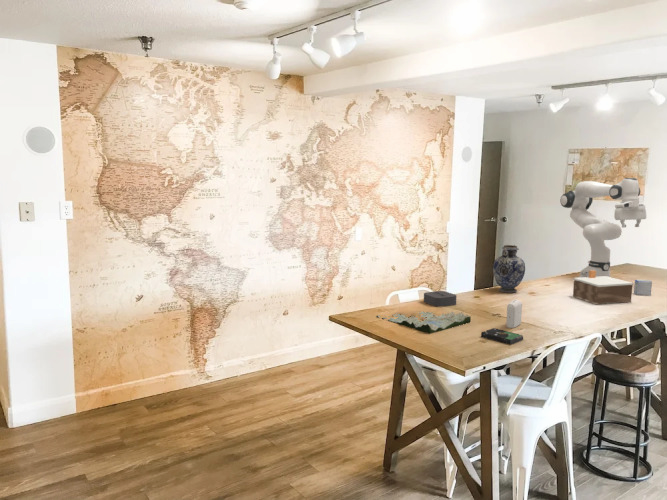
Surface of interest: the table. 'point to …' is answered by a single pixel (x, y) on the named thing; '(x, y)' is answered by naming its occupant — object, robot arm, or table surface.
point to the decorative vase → (509, 269)
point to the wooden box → (602, 293)
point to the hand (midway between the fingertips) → (630, 227)
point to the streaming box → (440, 298)
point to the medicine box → (642, 287)
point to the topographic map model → (431, 321)
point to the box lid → (602, 280)
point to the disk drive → (502, 336)
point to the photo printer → (514, 314)
